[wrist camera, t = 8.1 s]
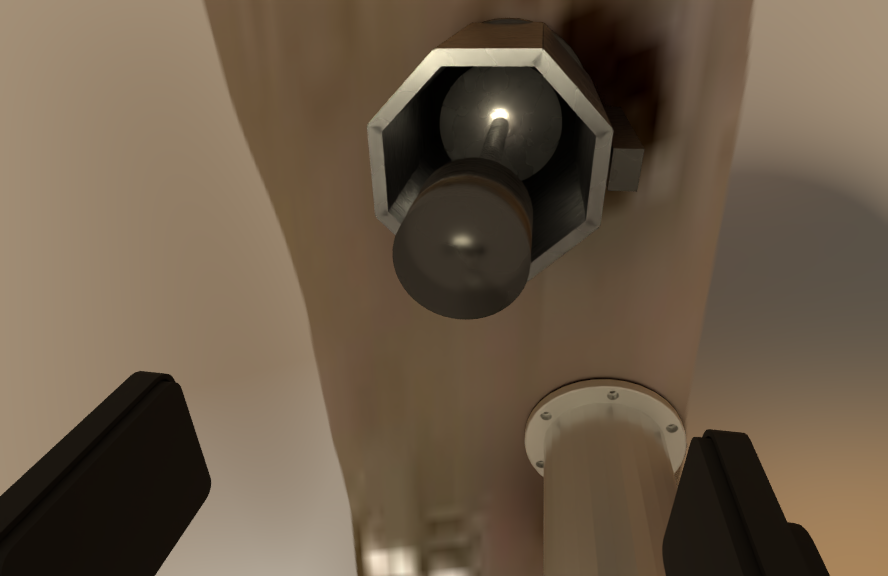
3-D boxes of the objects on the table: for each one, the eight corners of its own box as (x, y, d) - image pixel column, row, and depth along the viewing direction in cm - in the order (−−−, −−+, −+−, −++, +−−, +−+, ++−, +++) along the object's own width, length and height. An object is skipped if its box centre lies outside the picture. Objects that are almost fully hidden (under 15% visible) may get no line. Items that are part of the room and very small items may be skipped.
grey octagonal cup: (601, 192, 34) (626, 292, 23) (426, 186, 36) (376, 276, 25) (624, 16, 29) (670, 41, 18) (419, 18, 31) (354, 43, 20)
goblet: (556, 183, 31) (566, 361, 17) (442, 179, 32) (361, 345, 18) (567, 59, 27) (591, 150, 13) (440, 58, 28) (336, 144, 14)
